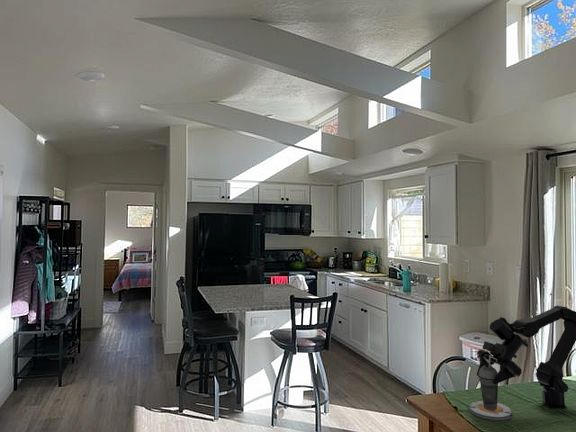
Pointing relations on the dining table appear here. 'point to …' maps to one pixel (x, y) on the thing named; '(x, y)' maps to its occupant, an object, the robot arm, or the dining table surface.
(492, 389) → the beverage cup
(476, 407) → the disc
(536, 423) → the dining table surface
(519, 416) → the dining table surface
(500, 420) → the base
